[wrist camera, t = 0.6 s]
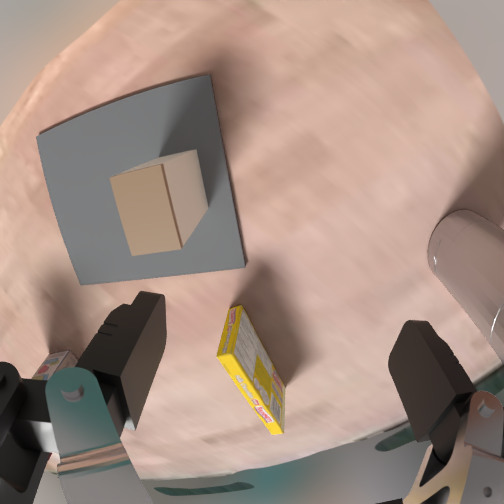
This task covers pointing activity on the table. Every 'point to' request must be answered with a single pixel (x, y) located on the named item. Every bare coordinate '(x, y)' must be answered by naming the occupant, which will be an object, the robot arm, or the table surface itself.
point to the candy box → (252, 369)
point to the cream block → (160, 202)
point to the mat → (131, 155)
